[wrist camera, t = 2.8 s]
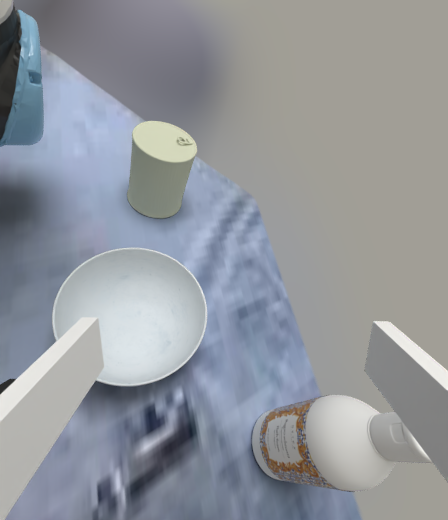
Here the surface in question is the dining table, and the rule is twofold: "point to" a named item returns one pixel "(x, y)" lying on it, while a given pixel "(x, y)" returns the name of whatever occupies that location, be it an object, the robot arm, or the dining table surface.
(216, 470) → the dining table surface
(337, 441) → the bath foam
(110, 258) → the chinaware
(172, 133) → the can
